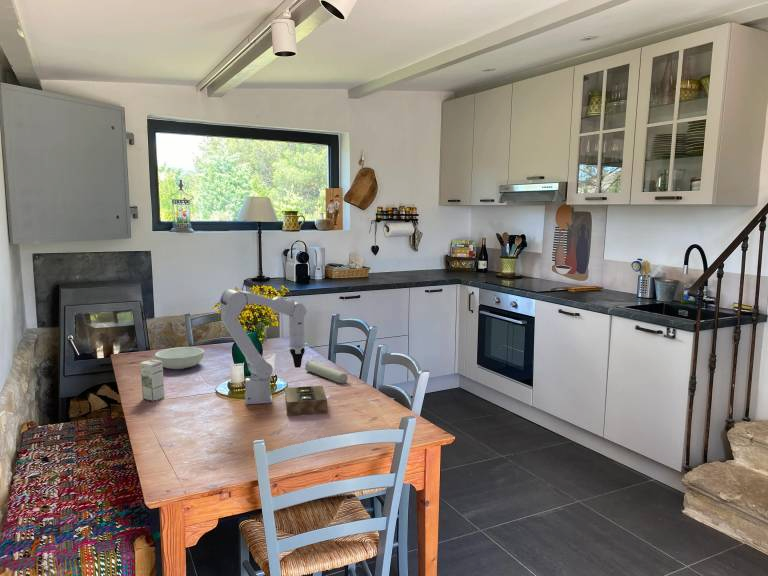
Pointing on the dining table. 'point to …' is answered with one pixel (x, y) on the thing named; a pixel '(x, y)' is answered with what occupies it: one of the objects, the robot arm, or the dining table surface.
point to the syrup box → (152, 379)
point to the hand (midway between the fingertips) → (297, 367)
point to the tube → (326, 371)
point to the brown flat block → (305, 401)
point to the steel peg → (306, 396)
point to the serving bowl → (180, 357)
